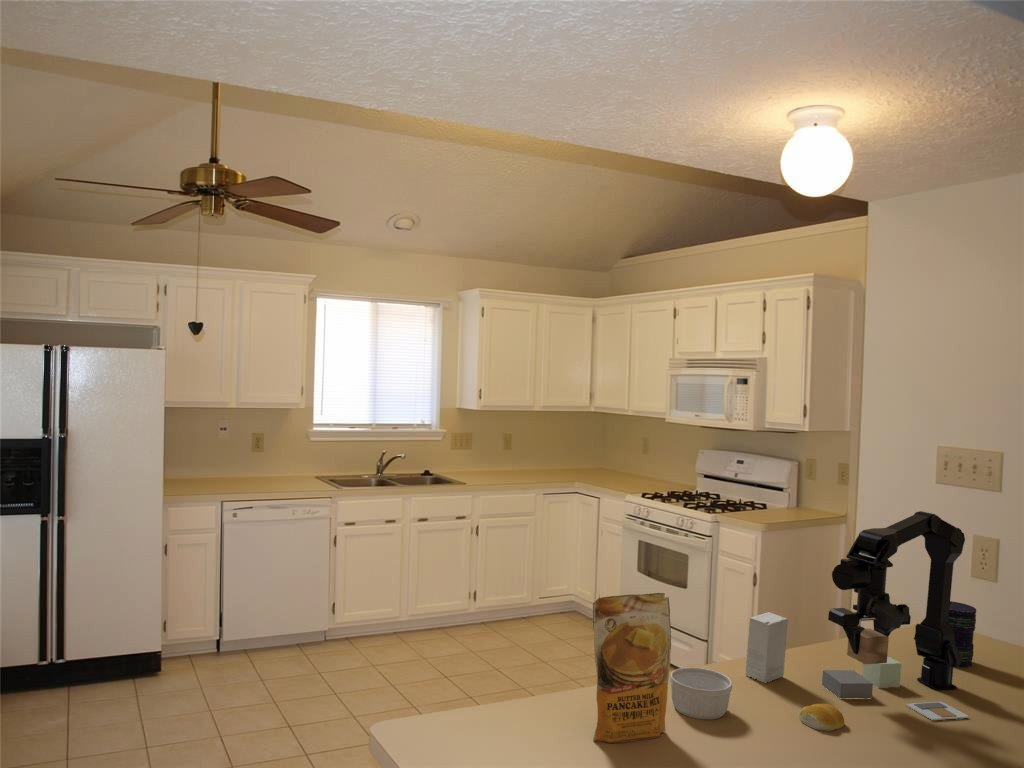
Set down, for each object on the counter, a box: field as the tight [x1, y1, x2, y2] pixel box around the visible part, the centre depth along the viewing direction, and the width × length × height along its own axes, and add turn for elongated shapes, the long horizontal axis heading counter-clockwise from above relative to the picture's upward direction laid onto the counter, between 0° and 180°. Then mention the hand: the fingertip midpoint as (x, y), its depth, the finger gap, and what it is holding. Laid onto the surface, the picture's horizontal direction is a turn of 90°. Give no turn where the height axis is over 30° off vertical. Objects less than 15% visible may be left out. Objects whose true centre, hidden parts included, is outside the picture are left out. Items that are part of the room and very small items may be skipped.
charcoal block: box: [821, 669, 874, 699], centre depth 195 cm, size 8×8×4 cm
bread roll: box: [798, 703, 845, 732], centre depth 177 cm, size 8×9×4 cm
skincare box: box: [745, 611, 789, 684], centre depth 201 cm, size 8×6×15 cm
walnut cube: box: [846, 627, 890, 665], centre depth 190 cm, size 6×6×6 cm
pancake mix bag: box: [592, 592, 672, 744], centre depth 165 cm, size 7×19×28 cm, turn 111°
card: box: [905, 701, 970, 721], centre depth 186 cm, size 10×8×1 cm
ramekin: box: [669, 666, 733, 721], centre depth 180 cm, size 13×13×7 cm
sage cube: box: [861, 655, 902, 689], centre depth 202 cm, size 6×6×6 cm
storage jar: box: [948, 600, 977, 669], centre depth 222 cm, size 10×10×15 cm
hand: (866, 653), depth 190 cm, fingers closed on walnut cube, 6 cm apart
